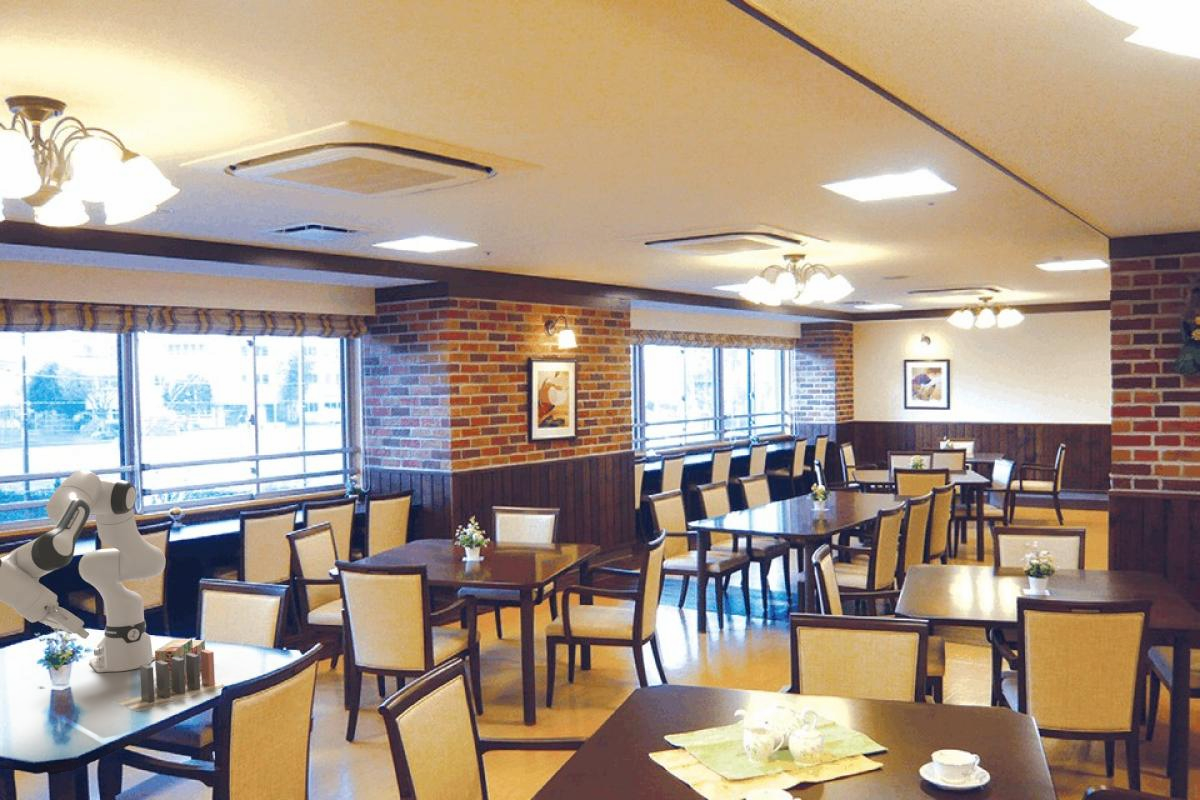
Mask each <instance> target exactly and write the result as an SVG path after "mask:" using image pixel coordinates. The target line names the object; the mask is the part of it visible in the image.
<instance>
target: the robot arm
mask: <svg viewBox="0 0 1200 800" xmlns="http://www.w3.org/2000/svg"><path fill="white" fill-rule="evenodd" d="M47 501H48V502H47V504H46V507H45V511H46V515H47V516H48V518H49V519H50V521H52V523H54V524H55V526H54V528H53V529H52V530H49V531H46V533H43V534H42V535H40V536H38V537H37V538H35V539H32V540H31V541H29V542H27V543H25V544H23V545H20V546H19V547H17V548H15V549H13V550H11V551H10V552H9V553H8V554H7V555H5V556H3V557H0V602H1V603H2V604H4V605H8V606H10V607H11V608H12V609H13V611H15V613H17V614H18V615H19V616H21V617H23V618H24V619H26V620H27V621H28V622H30V623H36V622H39V623H41V624H44V625H46V626H49V627H52V628H56V629H57V630H61V631H64V632H65V633H66V634H69V635H72V634H76V635H78V636H79V637H80V638H81V639H85V640H86V639H87V638H88V637H89V635H90V632H89V631H87V630H85V628H84V627H83V626H84V624H85V622H84V621H83V620H82V619H80V618H79V617H78V616H76V614H74V613H72V612H70V611H69V610H67V609H65V608H64V607H61V606H59V602H58V595H57V594H56V593H55V592H53V591H51V590H50V589H49V588H47V587H46V586H45V585H43V584H42V583H40V581H39V580H40V578H41V577H43V576H45V575H47V574H50V573H51V572H54V571H57V570H59V569H61V568H64V567H67V566H68V565H69V564H70V563H71V561H72V560H73V558H74V556H75V555H74V554H75V550H76V549H75V548H76V543H77V540H78V539H79V536H80V535H81V532H82V531H83V529H84V527H85V526H86V523H87V522H88V519H89V517H90V515H95V516H94V517H95V522H96V530H97V535H98V538H99V539H100V541H101V542H102V543H103V544H104V545H106V546H108V547H111V548H100V549H96V550H91V551H88V552H85V553H84V554H83V556H82V557H81V558H80V560H79V563H78V573H79V576H80V577H81V578H82V580H84V581H85V582H86V583H88V584H89V585H91V586H93V588H95V589H96V591H98V593H99V594H100V596H101V598H102V599H103V603H104V610H105V617H106V624H105V625H104V626H105V628H104V633H103V634H104V637H103V638H102V639H101V640H100V642H99V643H98V644H97V645H96V648H94V649H93V655H94V656H95V657H94V658H92V659H90V660H89V664H90V666H91V667H92V668H93V670H95V672H96V673H106V672H109V673H110V672H124V671H130V670H137V669H140V665H144V664H147V665H150V664H151V663H152V662H153V661H155V654H153V649H152V639H151V636H150V635H149V633H147V631H146V630H147V623H146V619H145V615H144V613H145V611H144V600H143V597H142V595H141V594H140V593H137V592H136V591H134V590H130V589H128V588H126V586H124V584H123V582H129V581H131V582H132V581H142V580H143V581H144V580H147V579H151V578H155V577H158V576H159V577H160V575H161V574H162V573H163V571H164V570H165V568H166V561H167V560H166V556H165V554H164V552H163V550H162V549H161V548H160V547H158V546H155V545H153V544H151V543H150V542H148V541H147V540H146V539H145V537H143V536H142V535H141V533H140V532H139V529H138V525H137V522H136V519H135V511H134V506H135V504H136V501H137V490H136V487H135V486H134V485H133V484H132V482H130V481H127V480H124V479H119V480H118V479H113V478H107V477H105V478H104V477H99V476H98V475H97V474H96V473H95V472H93V471H90V470H87V469H86V470H77V471H75V472H73V473H72V474H71V475H70V476H68V477H67V478H65V480H63V481H62V482H61V484H60V485H59V486H58V487H57V488H56V489H55V491H54V492H53V493H52V495H51V496H50V498H49V499H48V500H47Z"/></svg>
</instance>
